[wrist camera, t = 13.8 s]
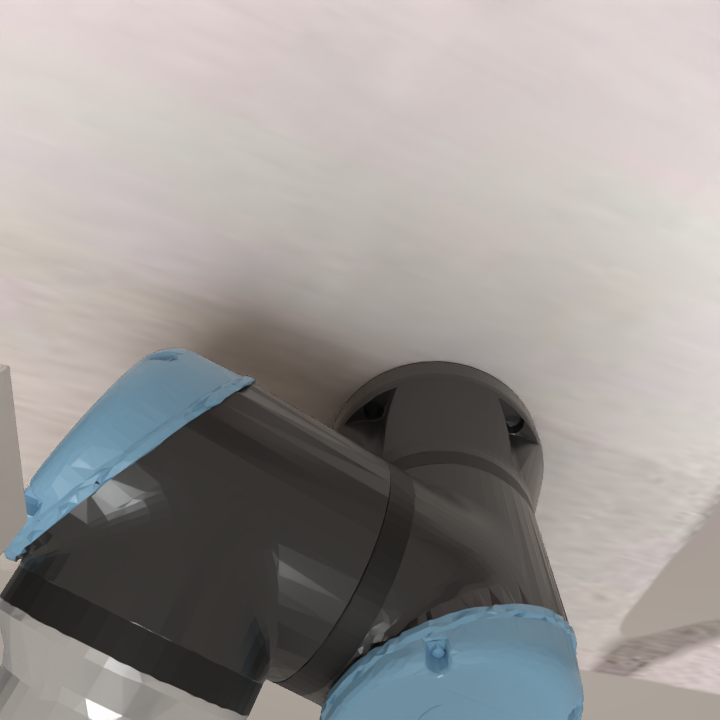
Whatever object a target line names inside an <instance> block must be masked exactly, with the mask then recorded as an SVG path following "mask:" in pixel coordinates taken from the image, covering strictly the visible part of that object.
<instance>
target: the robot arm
mask: <svg viewBox="0 0 720 720" xmlns="http://www.w3.org/2000/svg"><path fill="white" fill-rule="evenodd" d="M255 383H256V380H254V379H253V378H252V377H250V376H240V375H238V374H236V373H234V372H232V371H230V370H228V369H226V368H224V367H222V366H220V365H218V364H216V363H214V362H212V361H210V360H208V359H206V358H204V357H202V356H201V355H199V354H197V353H195V352H193V351H190V350H187V349H182V348H167V349H162V350H159V351H156V352H154V353H152V354H150V355H148V356H146V357H145V358H143V359H142V360H140V361H139V362H138V363H136V364H135V365H134V366H133V367H132V368H130V369H129V370H128V371H127V372H126V373H125V374H124V375H123V376H121V377H120V378H119V379H118V380H117V381H116V382H115V383H114V384H113V385H112V386H111V387H110V388H109V389H108V390H107V391H106V392H105V393H104V394H103V395H102V397H101V398H100V399H99V400H98V401H97V402H96V403H95V404H94V405H93V406H92V407H91V408H90V409H89V410H88V411H87V413H86V414H85V415H84V416H83V417H82V418H81V419H80V420H79V422H78V423H77V424H76V425H75V426H74V427H73V428H72V429H71V431H70V432H69V433H68V434H67V435H66V437H65V438H64V439H63V440H62V441H61V442H60V444H59V445H58V446H57V447H56V448H55V450H54V451H53V452H52V453H51V455H50V456H49V457H48V458H47V459H46V461H45V462H44V463H43V465H42V466H41V467H40V469H39V470H38V471H37V473H36V474H35V475H34V476H33V478H32V479H31V482H30V486H29V487H27V488H26V489H25V491H24V486H23V478H22V469H21V461H20V452H19V444H18V435H17V427H16V418H15V410H14V402H13V393H12V385H11V376H10V368H9V366H7V365H0V556H1V555H2V553H3V552H4V553H5V556H6V558H7V559H10V560H13V561H16V562H17V561H18V560H19V559H22V561H21V563H20V565H19V566H18V568H17V570H16V571H15V573H14V575H13V576H12V577H11V579H10V580H9V582H8V584H7V585H6V587H5V588H4V590H3V591H2V593H1V594H0V629H1V633H2V637H3V642H4V654H3V663H2V665H1V666H0V720H246V719H247V717H248V716H249V714H250V711H251V709H252V707H253V705H254V703H255V700H256V698H257V696H258V694H259V692H260V689H261V687H262V685H263V683H264V681H265V680H266V679H267V680H269V681H271V682H273V683H276V684H278V685H280V686H282V687H284V688H286V689H288V690H290V691H293V692H294V693H296V694H298V695H300V696H302V697H304V698H306V699H308V700H311V701H312V702H314V703H316V704H318V705H320V706H321V707H322V710H321V716H320V720H581V717H582V712H583V701H584V697H583V686H582V682H581V677H580V672H579V668H578V663H577V659H576V645H577V641H576V637H575V634H574V631H573V629H572V627H571V626H569V623H568V620H567V617H566V613H565V610H564V607H563V604H562V601H561V598H560V594H559V591H558V588H557V585H556V582H555V579H554V575H553V572H552V569H551V566H550V563H549V560H548V557H547V553H546V550H545V547H544V544H543V541H542V538H541V534H540V531H539V528H538V525H537V521H536V518H535V511H536V506H537V502H538V498H539V493H540V489H541V484H542V479H543V452H542V447H541V443H540V439H539V437H538V434H537V431H536V428H535V425H534V423H533V420H532V418H531V416H530V414H529V412H528V410H527V409H526V407H525V405H524V404H523V403H522V401H521V400H520V399H519V398H518V396H517V395H516V394H515V393H514V392H513V391H512V390H511V389H509V388H508V387H507V386H506V385H505V384H503V383H502V382H500V381H499V380H497V379H496V378H494V377H492V376H491V375H489V374H487V373H485V372H482V371H480V370H477V369H475V368H472V367H468V366H465V365H460V364H455V363H448V362H423V363H415V364H410V365H405V366H402V367H398V368H396V369H393V370H390V371H388V372H385V373H383V374H381V375H379V376H377V377H376V378H374V379H372V380H371V381H369V382H368V383H366V384H365V385H364V386H362V387H361V388H360V389H359V390H358V391H357V392H356V393H355V394H354V395H353V396H352V397H351V398H350V399H349V400H348V401H347V403H346V404H345V405H344V407H343V408H342V410H341V411H340V413H339V415H338V417H337V419H336V421H335V424H334V426H333V429H331V428H330V427H328V426H326V425H324V424H323V423H321V422H319V421H317V420H316V419H314V418H312V417H310V416H309V415H307V414H305V413H304V412H302V411H300V410H299V409H297V408H295V407H294V406H292V405H290V404H289V403H287V402H285V401H284V400H282V399H280V398H279V397H277V396H275V395H274V394H272V393H270V392H269V391H267V390H265V389H264V388H262V387H260V386H259V385H257V384H255Z"/></svg>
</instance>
